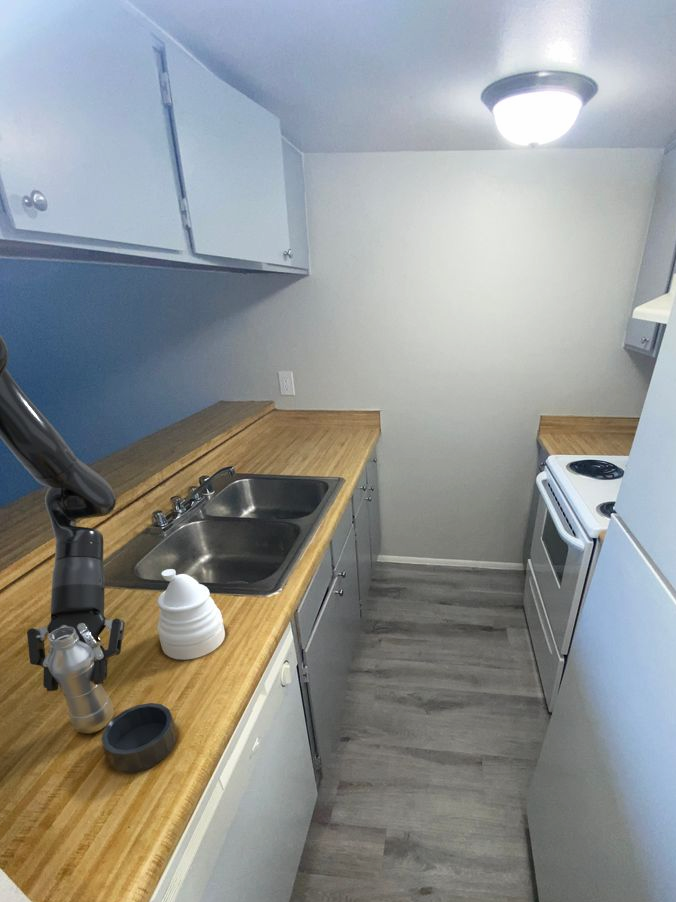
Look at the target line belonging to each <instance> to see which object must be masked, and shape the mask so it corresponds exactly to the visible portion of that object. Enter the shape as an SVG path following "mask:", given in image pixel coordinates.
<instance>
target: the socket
mask: <svg viewBox="0 0 676 902" xmlns="http://www.w3.org/2000/svg"><path fill="white" fill-rule="evenodd" d="M103 729H104V730H103V732H102V735H101V738H100V740H101V744H102V746H103V750H104V752H105V755H106V757H107V760H108V762H109V765H111V767H112V768H113V769H114V770H116V771H118V772H121V773H125V774H126V773H127V774H131V773H133V774H134V773H139V772H143V771H146V770H148V769H150V768H152V767H154V766H156V765H158V764H159V763H161V762H162V761H163V760H164V759H166V757H168V756H169V754H170V753H171V752H172V751H173V749H174V747H175V745H176V743H177V739H178V738H177V737H178V735H177V732H178V731H177V728H176V724H175V721H174V717H173V715H172V713H171V710H170V709H169V708H168V707H167V706H165V705H163V704H162V703H155V702H147V703H142V704H141V703H140V704H137V705H134V706H132V707H129V708H126V709H124V710H123V711H122V712H120V713H119V714H117V715H115V717H112V719H111V721H110V722H109V723H108V724H107V725H106V726H105V727H104V728H103Z"/></svg>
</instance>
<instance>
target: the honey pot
mask: <svg viewBox="0 0 676 902" xmlns="http://www.w3.org/2000/svg"><path fill="white" fill-rule="evenodd" d="M161 577H162V578H163V579H164V580H165V581H167V582H169V583H168V585H167V588H166V589H165V590H164V591H163V592H162V593H161V594H159V596H158V598H157V606H158V607H159V609H160V610H159V617H158V623H157V633H158V638H159V642H160V645H161V649H162V652H163V653H164V655H166V656H167V657H169V658H172V659H175V660H181V661H182V660H183V661H185V660H193V659H194V660H195V659H197V658H201V657H204V656H206V655H209V654H210V653H212V652H213V651H215V650H217V648H219V647H220V646H221V645H222V643H223V642H224V641H225V638H226V632H225V626H224V620H223V614H222V612H221V610H220V608H218V606H217V604H216V603H215V600H214V599H213V598H212V597H211V596H210V594H211V593H210V590H209V588H208V587H207V586H205V584H201V583H200V582H199V581H197V580H196V579H195V578H194V577H192V576H190V575H189V574H186V573H179V574H177V572H176V569H173V568H167V569H165V570H162V571H161Z"/></svg>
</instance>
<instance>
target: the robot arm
mask: <svg viewBox="0 0 676 902" xmlns="http://www.w3.org/2000/svg"><path fill="white" fill-rule="evenodd" d="M9 356H10V355H9V347H8V345H7V343H6V341H5V338H4V337H3V336H2V334H1V333H0V440H2V441H3V443H4V445H6V446H7V448H8V450H9V451H10V452H11V453H12V455H14V457H15V458H16V459H17V460H18V461H19V462H20V464H21V465H22V466H23V467H24V468H25V469H26V471H28V473H29V474H30V475H31V476H32V477H33V479H34V480H35V481H36V482H38V483H39V484H40V485H42V486H44V487H49V488H48V489H47V491H46V493H45V497H44V503H45V504H44V505H45V507H46V510H47V514H48V516H49V519H50V523H51V528H52V531H53V534H54V539H55V548H54V549H55V550H54V551H55V552H54V565H53V571H52V576H51V577H52V578H51V595H50V597H51V599H50V601H51V602H50V621H49V623H48V624H47V626H44V627H41V628H29V629H28V630H27V631H26V634H27V636H26V638H27V646H28V655H29V656H28V657H29V663H30V664H31V665H34V666H39V667H41V668H43V679H42V680H43V681H42V685H43V688H44V689H46V691H47V692H57V691H58V690H59V684H58V683H57V681H56V680H55V678H54V677H53V675H52V674H51V672H50V671H49V669H48V659H49V657H50V654H51V652H52V650H53V649H52V648H51V646H50V645H49V648H48V650H47V651H48V652H47V654H46V647H45V641H46V640H47V639H48V636H49V634H50V633H51V632H53V631H54V630H56V629H58V628H61V627H73V628H74V629H75V631H76V633H77V635H78V637H79V641H82V642H84V643H86V644H87V645H88V646H89V647H91V649H92V650H93V651H94V656H95V659H96V661H94V662H95V663H94V684H96V685H98V684H101V685H103V684H104V682H105V681H106V680H107V678H108V661H109V660H110V659H111V658H112V657H115V656H119V655H120V654H121V651H122V645H123V638H124V633H125V632H124V631H125V625H126V622H125V621H124V620H122V619H120V618H113V619H107V618H106V617H105V589H106V588H105V586H106V578H105V575H106V574H105V567H104V536H103V534H102V532H101V531H100V530H98V529H95V528H92V527H86V526H78V524H77V520H84V519H92V518H101V517H105V516H108V515H109V514H111V513H112V512H114V509H115V508H116V503H117V497H116V494H115V491H114V489H113V488H112V485H110V483H109V482H108V481H107V480H106V479H105V478H104V477H103V476H102V475H100V473H98V472H96V471H95V470H94V469H92V468H91V467H90V466H88V465H87V464H86V463H85V462H83V461H82V460H80V459H79V458H78V457H77V456H76V454H75V453H74V451H73V450H72V449H71V447H70V446H69V445H68V444H67V442H66V441H65V439H64V438H63V437H62V435H61V434H60V433H59V432H58V430H57V429H56V428H55V427H54V425H53V424H52V423H51V422H50V420H48V418H47V417H46V416H45V415H44V414H43V413H42V411H40V410H39V408H38V407H37V406H36V404H34V403H33V401H32V400H31V399H30V398H29V397H28V396H27V394H26V393H25V392H24V391H23V390H22V388H21V386H19V385H18V383H17V382H16V380H15V379H14V377H13V376H12V374H11V373H10V372H9V370H8V369H7V367H8V366H7V365H8V362H9ZM106 628H107V631H108V632H109V639H108V646H107V649H106V648H105V645H104V644H105V643H103V641H102V639H101V638H100V635H101V634H102V633H103V631H104V630H105V629H106Z"/></svg>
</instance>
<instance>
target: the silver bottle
mask: <svg viewBox="0 0 676 902" xmlns="http://www.w3.org/2000/svg"><path fill="white" fill-rule="evenodd" d="M47 639H48V642H49V647H50V646H51V648H52V649H53V650H52V652H51V654H50V657H49V659H48V669H49V671H50V672H51V674H52V675H53V677H54V678H55V680H56V681H57V683H58V687H59V688H60V690H61V691H62V694H63V696H64V699H65V702H66V705H67V709H68V720H69V722H70V724H71V726H72V727H73V729H74V730H75V731H77V732H78V733H82V734H93V733H96V732H99V731H101V730H102V729H105V727H106V726H107V725H108V724H109V723H110V722H111V720H112V719H113V718H114V714H115V712H114V711H115V710H114V703H113V702H112V699H111V698H110V697H109V695H108V694H107V692H106V691H105V689H104V686H103V684H98V685H96V684H94V663H95V662H94V661H96V658H95V656H94V651H93V650H92V649H91V647H89V646H88V645H87V644H86V643H84V642H82V641H79V637H78V635H77V633H76V631H75V629H74V628H73V627H61V628H58V629H56V630H54V631H53V632H51V633H49V634H48V635H47Z"/></svg>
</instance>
